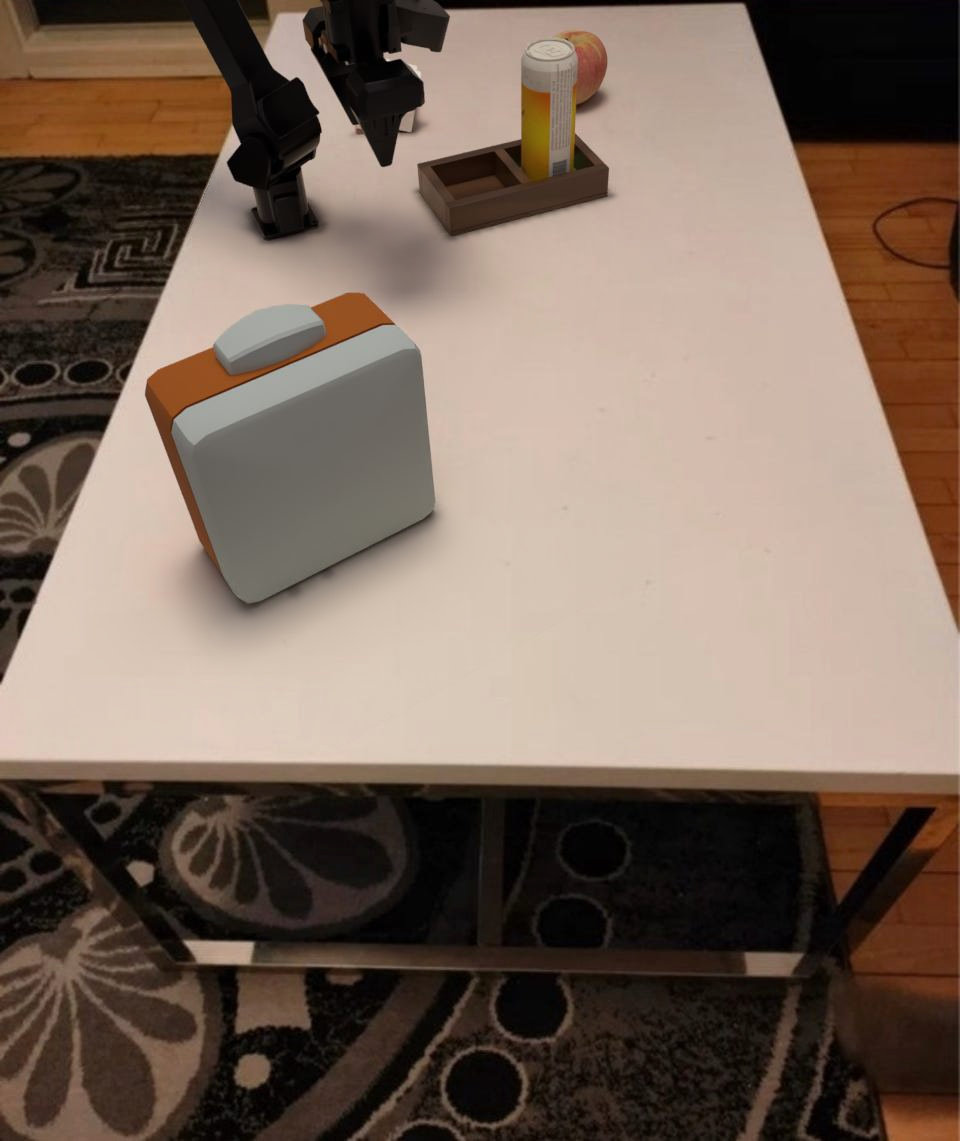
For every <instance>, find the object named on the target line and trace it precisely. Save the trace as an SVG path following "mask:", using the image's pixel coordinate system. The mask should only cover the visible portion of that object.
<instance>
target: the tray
mask: <svg viewBox="0 0 960 1141" xmlns="http://www.w3.org/2000/svg"><path fill="white" fill-rule="evenodd" d="M416 167H417V178H418V191H419V193H420V194H421V196H422V197H423V199H424V200H425V201H426V204H428V205H429V207H430V209H431V210H432V212H434V214H435V216H436V217H437V218H438V219H439V221H440V223H441V224H442V226H444V228H445V229H446V231H447V232H448V234H449V235H450V236H456V235H461V234H466V233H468V232H472V231H476V230H479V229H484V228H488V227H492V226H496V225H499V224H503V223H507V222H511V221H515V220H519V219H523V218H526V217H531V216H534V215H535V216H536V215H539V214H542V213H546V212H550V211H555V210H557V209H558V210H559V209H561V208H566V207H569V206H570V207H571V206H574V205H578V204H581V203H585V202H589V201H593V200H597V199H600V198H601V199H602V198H605V197H608V191H609V190H608V189H609V175H610V167H609V166H608V165H607V164H606V163H605V162H604V161H603V160H602V159H601V158H600V157H599V155H597V154H596V152H594V151H593V150H592V149H591V148H590V146H589V145H588V144H587V143H586V142H585V141H584V140H583V139H582V138H581V137H580V136H578V134H577V133H576V132H575V142H574V166H573V171H572V172H568V173H564V174H560V175H556V176H552V177H548V178H544V179H540V180H536V181H532V182H531V180H530V179H529V178H528V177H527V176H526V174H525V173H524V172H523V171H522V170H521V138H520V139H516V140H512V141H507V142H503V143H499V144H494V145H491V146H486V147H482V148H477V149H474V150H470V151H469V150H468V151H465V152H461V153H457V154H452V155H448V156H444V157H439V158H436V159H432V160H428V161H424V162H419V163H417V164H416Z"/></svg>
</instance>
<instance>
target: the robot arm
mask: <svg viewBox="0 0 960 1141" xmlns="http://www.w3.org/2000/svg"><path fill="white" fill-rule="evenodd" d="M181 2H182V4H183V7H184V9H185V10H186V12H187V14H188V15H189V18H191V21H192V22H193V24H194V26H195V28H196V30H197V32H198V34H199V35H200V37H201V39H202V42H203V43H204V45H205V47H206V48H207V50H208V52H209V54H210V56H211V57H212V59H213V61H214V63H215V65H216V67H217V68H218V70H219V72H220V74H221V76H222V78H223V79H224V82H225V83H226V85H227V87H228V89H229V92H230V105H231V124H232V127H233V130H234V132H235V134H236V136H237V139H238V141H239V143H240V144H239V145H238V147H237V148H236V149H235V150H234V152H233V153H232V154H231V155H230V157H229V158H228V159H227V161H226V165H227V168H228V169H229V172H230V174H231V176H232V179H233V181H235V183H236V182H237V183H239V184H241V185H244V186H247V187H249V188H252V190H253V195H254V200H255V205H256V206H254V207H252V208H251V209H250V212H251V215H252V216H253V219H254V221H255V224H256V225H257V227H258V229H259V231H260V233H261V235H262V237H263V239H265V240H270V239H275V238H279V237H282V236H286V235H290V234H295V233H299V232H303V231H306V230H307V231H308V230H311V229H316V228H318V227H319V226H320V222H319V219H318V218H317V216H316V214H315V212H314V210H313V209H312V206H311V205H310V204H309V202H308V198H307V197H308V196H307V192H306V186H305V181H304V176H303V168H302V166H303V165H305V164H307V163H308V162H310V161H313V160H314V159H315V158H316V156H317V148H318V146H319V144H320V142H321V134H322V133H323V130H322V124H321V121H320V119H319V117H318V115H320V111H319V110H318V108H317V107H316V105H314V103H313V102H312V100H311V98H310V95H309V94H308V91H307V88H306V86H305V84H304V82H303V81H302V79H301V78H300V77H298V76H295V77H294V78H292V79H288V78H287V77H286V76H284V75H283V74H281V73H280V71H277V70H276V69H275V68H274V67H273V66H272V63H271V62H270V60H269V58H268V56H267V54H266V53H265V50H264V49H263V47H262V45H261V43H260V41H259V39H258V37H257V35H256V33H255V31H254V30H253V27H252V26H251V25H252V24H251V23H250V21H249V20H248V17H247V16H246V14H245V12H244V10H243V8H242V6H241V3H240V2H239V0H181ZM319 2H320V3H322V6H321V5H319V6H317V7H311V8H310V7H309V9H308V11H307V12H306V14H305V15H304V17H303V18H302V27H303V33H304V40H305V41H306V43H307V44H308V45H309V47H310V52H311V54H312V55H313V57H314V58H315V60H316V62H317V64H318V66H319V67H320V69H321V71H322V73H323V74H324V76H325V79H326V80H327V82H328V83H329V86H330V88H331V89H332V91H333V93H334V95H335V97H336V98H337V100H338V102H339V104H340V105H341V107H342V109H343V111H344V113H345V115H346V116H347V118H348V120H349V122H350V123H351V125H352V126H355V125H358V124H359V125H360V127H361V129H360V130H361V132H362V133H363V135H364V137H365V139H366V141H367V143H368V146H369V147H370V149H371V151H372V153H373V155H374V156H375V158H376V160H377V162H378V164H379V166H380V167H381V168H386V167H390V166H392V164H393V160H394V156H395V150H396V147H397V146H396V145H397V141H398V135H399V132H400V130H399V127H400V124H401V120H402V118H403V116H404V115H405V114H406V113H407V112H410V111H413V110H415V111H416V110H417V108H421V107H423V105H425V103H426V99H425V98H426V97H425V85H424V81H423V80H422V78H421V79H420V77H419V76H418V75H417V74H416V73H415V71H414V70H413V69H412V68H411V67H410V66H409V65H408V64H409V63H408V62H405V60H403V59H402V58H397V59H391V60H392V61H386V59H387V58H386V59H385V57H384V56H385V54H386V53H388V54H389V55H393V54H397V53H402V52H403V50H402V44H403V45H406V46H412V47H417V48H423V49H429V51H430V52H432V53H441V52H442V50H443V46H444V43H445V39H446V35H447V31H448V27H449V23H450V19H451V15H450V14H449V13H448V12H447V11H446V10H445V9H444V8H443V7H442V6H441V5H440V3H438V2H437V1H436V0H319Z"/></svg>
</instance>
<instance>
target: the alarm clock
mask: <svg viewBox="0 0 960 1141" xmlns="http://www.w3.org/2000/svg"><path fill="white" fill-rule="evenodd" d="M423 368H424V367H423V356H422V353H421V349H420V348H419V347H418V346H417V344H416V343H415V341H414V340H413V339H412V338H410V336H408V335H407V333H405V332H404V330H403V329H401V328H400V327H399V326H398V324H396V323H395V322H394V321H393V320H392V319H391V318H390V317H389V316H388V314H386V313H385V312H384V311H383V310H382V309H381V308H380V307H379V306H378V305H377V304H376V303H375V302H374V301H373V300H372V299H370V297H368V295H366V294H365V293H363V292H345V293H342V294H340V295H338V296H335V297H333V298H331V299H328V300H326V301H323V302H320V303H318V304H316V305H313V306H309V305H308V304H299V303H297V304H295V303H286V304H279V305H271V306H267V307H265V308H260V309H257V310H254V311H253V312H251V313H249V314H247V315H245V316H243V317H242V318H240V319H239V320H237V321H236V322H234V323H233V324H232V325H230V326H229V327H227V328H226V329H225V330H224V331H223V333H222V334H220V336H219V337H218V338H217V339H216V340H215V341H214V343H213V344H212V347H210V348H208V349H205V350H202V351H199V352H197V353H195V354H193V355H190V356H187V357H185V358H183V359H180V360H178V361H175V362H173V363H170V364H168V365H166V366H163V367H160V368H158V369H157V370H155V372H154V373H152V374H151V375H150V376H148V377H147V379H146V384H145V388H144V397H145V400H146V402H147V405H148V407H149V410H150V412H151V416H152V418H153V421H154V423H155V426H156V428H157V431H158V434H159V436H160V439H161V442H162V444H163V447H164V450H165V453H166V455H167V458H168V461H169V463H170V466H171V469H172V471H173V475H174V477H175V479H176V483H177V485H178V488H179V491H180V492H181V495H182V498H183V501H184V503H185V505H186V509H187V511H188V514H189V517H190V520H191V522H192V524H193V527H194V530H195V532H196V536H197V539H198V540H199V542H200V544H201V545H202V547H203V549H204V550H205V551H206V553H207V555H208V556H209V558H210V559H211V560H212V562H213V564H214V565H215V567H216V568H217V570H218V572H219V573H220V574H221V576H222V577H223V579H224V580H225V582H226V583H227V585H228V587H229V588H230V590H231V591H232V592H233V594H234V596H235V597H236V598H238V599H240V600H241V601H243V602H245V603H246V604H253V603H254V604H255V603H259V602H262V601H264V600H266V599H268V598H270V597H271V596H274V595H276V594H278V593H279V592H282V591H283V590H286V589H287V588H290V587H292V586H295V584H297V583H299V582H301V581H303V580H306V579H308V578H310V577H311V576H313V575H316V574H317V573H319V572H322V571H323V570H325V569H327V568H329V567H331V566H333V565H335V564H338V563H339V562H341V561H343V560H346V559H347V558H349V557H352V556H353V555H355V554H357V553H359V552H361V551H363V550H365V549H367V548H369V547H371V546H373V545H375V544H377V543H378V542H381V541H382V540H384V539H387V538H388V537H391V536H392V535H394V534H396V533H398V532H401V531H402V530H405V529H406V528H409V527H410V526H412V525H415V524H417V523H418V522H420V521H422V520H424V519H425V518H426V517H427V516H428V515H429V514H431V513H432V512H433V510H434V507H435V505H436V494H435V483H434V472H433V462H432V461H433V460H432V451H431V441H430V440H431V439H430V431H429V421H428V411H427V410H428V408H427V400H426V399H427V398H426V388H425V387H426V386H425V380H424V369H423Z"/></svg>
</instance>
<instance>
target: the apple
mask: <svg viewBox="0 0 960 1141" xmlns="http://www.w3.org/2000/svg"><path fill="white" fill-rule="evenodd" d="M551 37H552V38H561V39H565V40H567V41H569V42H571V43H572V44H573V45H574V47H575V52H576V54H577V57H578V70H577V94H576V106H577V105H580V104H583V103H584V102H586V101H587V100H589V99H590V98H591V97H593V95H594V94H596V92H597V91H598V90H599V89H600V87H601V85H602V83H603V81H604V79H605V77H606V73H607V69H608V53H607V49H606V47H605V45H604V43H603V41H602V40H601V38H599V36H597V35H596V34H594V33H591V32H589V31H586V30H580V29H570V30H569V29H568V30H565V31H562V32H558V33H557V34H555V35H553V36H551Z"/></svg>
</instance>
